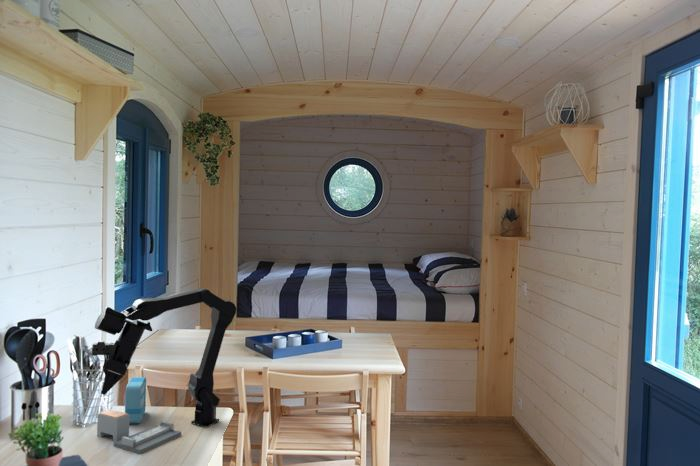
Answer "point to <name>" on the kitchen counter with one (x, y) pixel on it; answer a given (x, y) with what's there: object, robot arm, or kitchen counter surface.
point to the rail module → (113, 424)
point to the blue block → (135, 399)
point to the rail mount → (148, 438)
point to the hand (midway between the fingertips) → (104, 391)
